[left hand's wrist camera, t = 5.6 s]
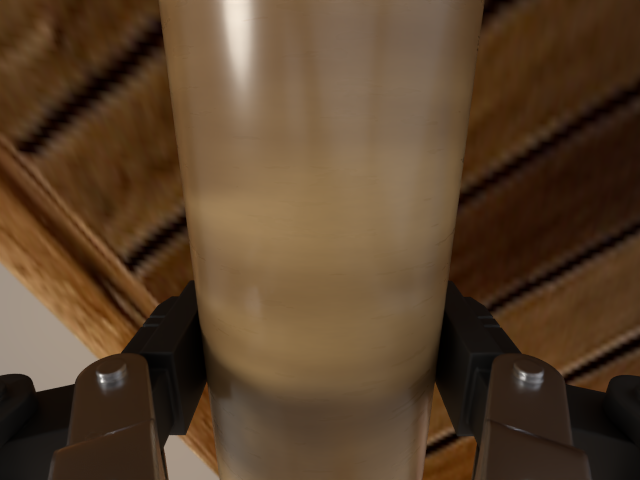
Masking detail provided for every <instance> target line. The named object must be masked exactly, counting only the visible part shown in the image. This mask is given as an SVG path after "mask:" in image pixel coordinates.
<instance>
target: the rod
mask: <svg viewBox="0 0 640 480" xmlns="http://www.w3.org/2000/svg"><path fill="white" fill-rule="evenodd" d="M159 7H160V14H161V22H162V30H163V38H164V46H165V54H166V62H167V69H168V77H169V85H170V93H171V101H172V109H173V117H174V124H175V132H176V140H177V148H178V156H179V164H180V172H181V179H182V187H183V195H184V203H185V211H186V219H187V226H188V234H189V242H190V250H191V258H192V266H193V274H194V281H195V289H196V297H197V305H198V313H199V321H200V329H201V336H202V344H203V352H204V360H205V368H206V376H207V384H208V391H209V399H210V407H211V415H212V423H213V431H214V438H215V446H216V454H217V462H218V470H219V478H220V480H422V476H423V468H424V461H425V453H426V445H427V438H428V430H429V422H430V415H431V407H432V399H433V392H434V384H435V376H436V368H437V361H438V353H439V345H440V338H441V330H442V322H443V315H444V307H445V299H446V292H447V284H448V276H449V268H450V261H451V253H452V245H453V238H454V230H455V222H456V215H457V207H458V199H459V192H460V184H461V176H462V168H463V161H464V153H465V145H466V138H467V130H468V122H469V115H470V107H471V99H472V91H473V84H474V76H475V68H476V61H477V53H478V45H479V38H480V30H481V22H482V15H483V7H484V0H159Z"/></svg>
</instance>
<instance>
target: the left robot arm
mask: <svg viewBox="0 0 640 480" xmlns="http://www.w3.org/2000/svg"><path fill="white" fill-rule="evenodd" d="M206 382H207V376H206V368H205V360H204V352H203V344H202V336H201V329H200V321H199V313H198V305H197V297H196V289H195V281H194V280H191V281H190V282H189V283H188V284H187V286H186V287H185V289H184V290H183V292H182V293H181V294H180V296H179V297H170V298H169V299H167V300H166V301H164V302H163V303H161V304H159V305H158V306H157V307H156V309H155V310H154V311H153V313H152V314H151V315H150V318H148V319H147V320H146V322H145V323H144V324H143V327H141V328H140V329H139V331H138V332H137V333H136V334H135V336H134V337H133V338H132V340H131V341H130V342H129V343H128V345H127V346H126V347H125V349H124V350H123V351H122V352H121V354H115V355H111V356H107V357H105V358H102V359H100V360H98V361H96V362H94V363H92V364H91V365H89V366H88V367H86V368H85V369H84V370H83V371H82V372H81V373H80V374H79V375H78V377H77V379H76V381H75V384H73V385H68V386H63V387H59V388H54V389H49V390H44V391H40V392H36V391H35V388H34V385H33V382H32V380H31V378H30V377H28V376H26V375H23V374H7V375H1V376H0V480H169V479H168V472H167V465H166V458H165V453H164V445H165V443H166V441H167V438H168V436H169V435H186V433H187V430H188V428H189V425H190V423H191V420H192V418H193V415H194V413H195V410H196V408H197V405H198V402H199V400H200V397H201V395H202V392H203V390H204V387H205V385H206ZM435 382H436V385H437V387H438V390H439V392H440V395H441V397H442V400H443V402H444V405H445V407H446V409H447V412H448V414H449V417H450V419H451V422H452V424H453V427H454V429H455V432H456V434H457V436H474V437H475V439H476V442H477V447H476V452H475V458H474V465H473V472H472V479H471V480H640V377H639V376H633V375H620V376H616V377H613V378H612V379H611V380H610V382H609V385H608V388H607V391H606V393H604V392H599V391H595V390H590V389H585V388H580V387H576V386H571V385H568V384H565V381H564V379H563V377H562V375H561V374H560V373H559V372H558V371H557V370H556V369H555V368H554V367H552V366H551V365H549V364H548V363H546V362H544V361H542V360H540V359H538V358H535V357H533V356H529V355H525V354H522V353H521V352H520V351H519V349H518V348H517V347H516V346H515V344H514V343H513V342H512V340H511V339H510V338H509V337H508V335H507V334H506V333H505V332H504V330H503V329H502V328H500V325H499V324H498V323H497V321H496V320H495V319H493V316H492V315H491V314H490V312H489V311H488V310H487V309H486V307H485V306H484V305H482V304H481V303H479V302H477V301H476V300H474V299H473V298H471V297H463V296H462V294H461V293H460V292H459V290H458V289H457V287H456V286H455V285H454V283H453V282H452V281H448V284H447V292H446V299H445V307H444V315H443V322H442V330H441V338H440V345H439V353H438V361H437V368H436V376H435Z"/></svg>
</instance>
